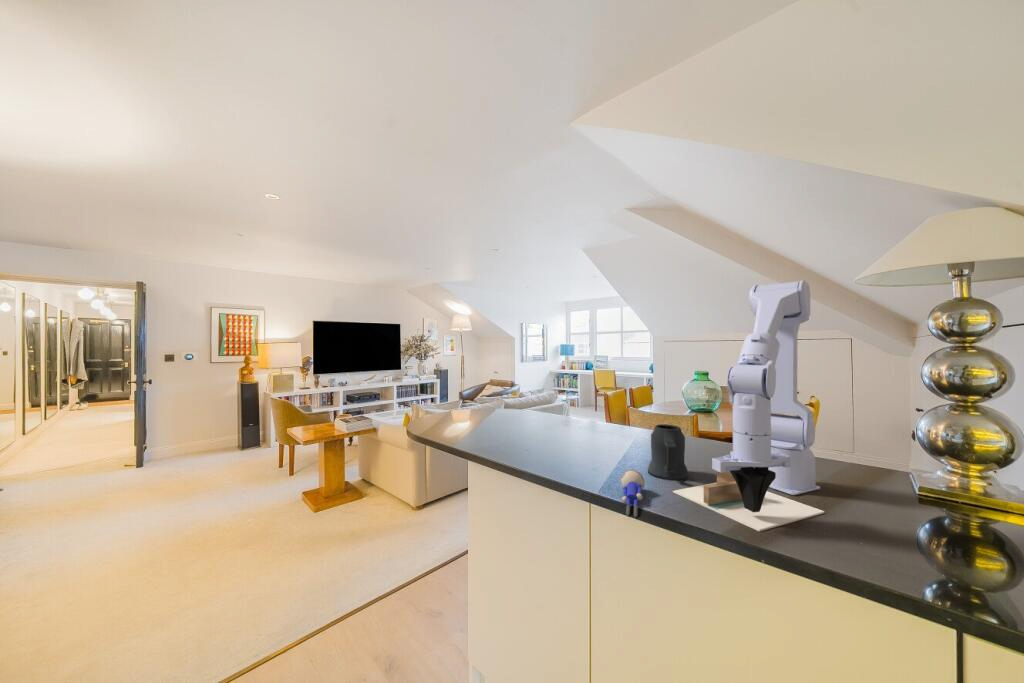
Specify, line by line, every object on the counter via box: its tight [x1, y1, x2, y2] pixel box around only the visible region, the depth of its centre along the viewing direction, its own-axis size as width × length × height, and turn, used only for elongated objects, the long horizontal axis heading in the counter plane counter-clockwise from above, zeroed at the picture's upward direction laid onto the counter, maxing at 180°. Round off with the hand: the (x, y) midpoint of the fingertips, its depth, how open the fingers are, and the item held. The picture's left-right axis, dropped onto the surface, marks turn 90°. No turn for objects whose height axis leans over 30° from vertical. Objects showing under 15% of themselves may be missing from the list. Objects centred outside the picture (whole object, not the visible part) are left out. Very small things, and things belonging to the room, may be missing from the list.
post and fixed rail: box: [716, 471, 735, 483], centre depth 77 cm, size 2×8×4 cm, turn 23°
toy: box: [620, 469, 645, 519], centre depth 73 cm, size 5×5×15 cm
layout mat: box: [672, 481, 826, 532], centre depth 73 cm, size 18×18×1 cm
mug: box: [647, 423, 689, 482], centre depth 88 cm, size 12×9×11 cm
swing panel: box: [703, 481, 742, 505], centre depth 72 cm, size 9×1×3 cm, turn 107°
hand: (752, 509), depth 66 cm, fingers closed
